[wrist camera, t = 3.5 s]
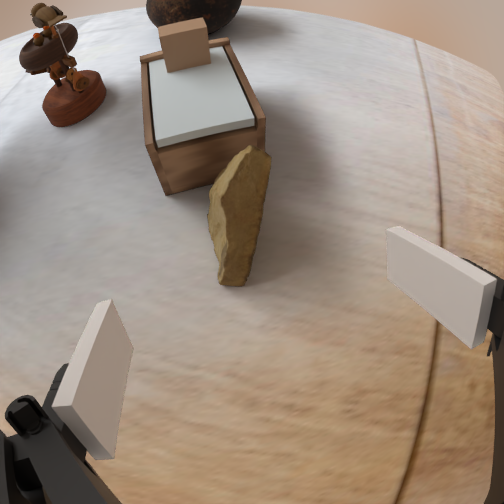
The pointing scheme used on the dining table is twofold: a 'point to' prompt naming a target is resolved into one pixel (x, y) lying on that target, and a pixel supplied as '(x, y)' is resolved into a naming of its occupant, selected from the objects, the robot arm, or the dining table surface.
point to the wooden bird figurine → (61, 69)
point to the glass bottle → (193, 11)
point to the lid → (194, 87)
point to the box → (203, 148)
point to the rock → (238, 213)
